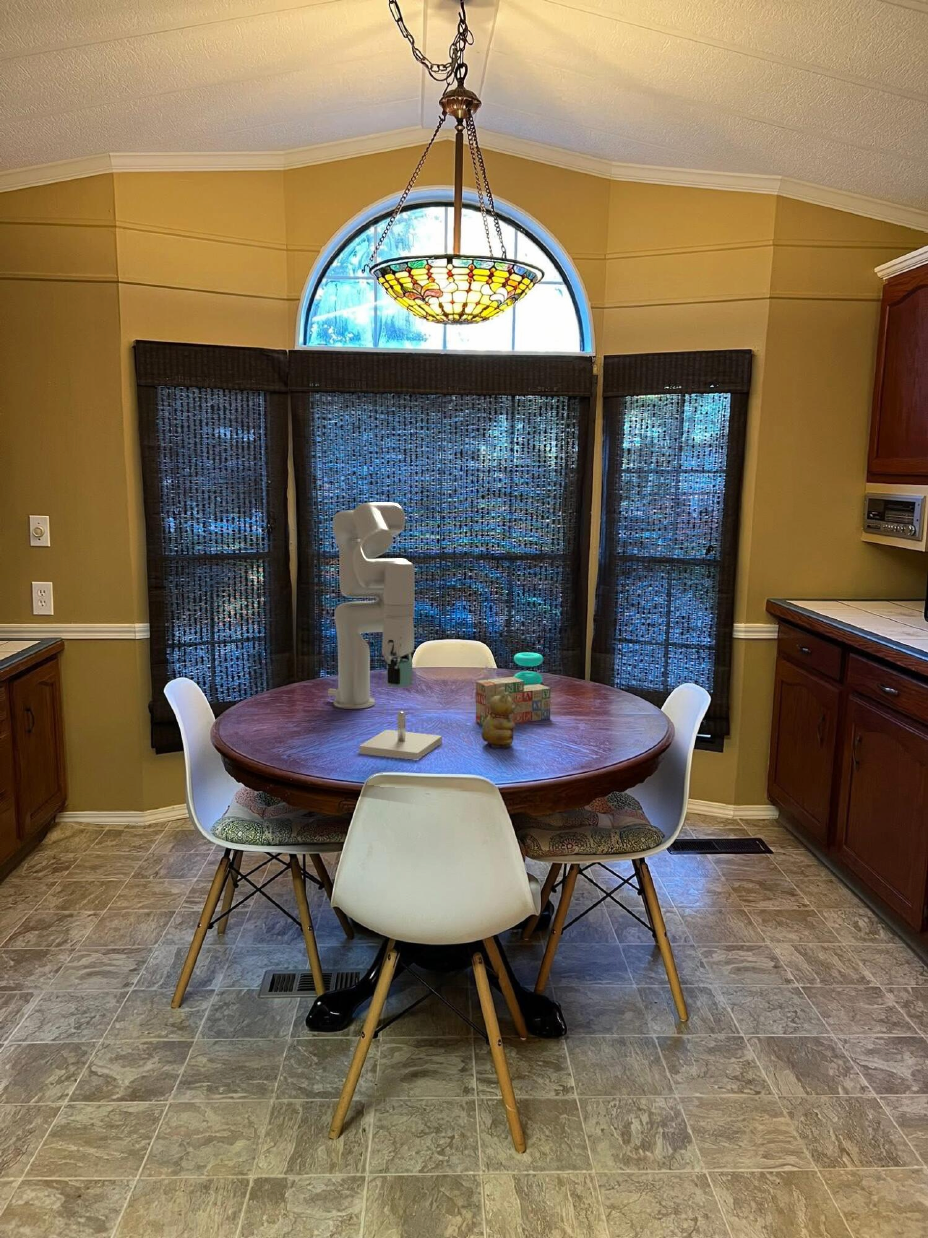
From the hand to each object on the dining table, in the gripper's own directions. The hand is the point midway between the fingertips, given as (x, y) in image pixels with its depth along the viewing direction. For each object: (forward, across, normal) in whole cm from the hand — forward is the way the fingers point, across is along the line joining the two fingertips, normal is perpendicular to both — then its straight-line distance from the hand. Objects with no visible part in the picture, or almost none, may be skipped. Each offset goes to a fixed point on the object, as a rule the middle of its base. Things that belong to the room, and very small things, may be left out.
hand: (399, 680), depth 227 cm
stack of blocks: (+18, -37, +19) cm, 46 cm away
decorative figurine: (+18, -12, +22) cm, 31 cm away
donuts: (+18, -85, +9) cm, 87 cm away
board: (+18, 0, 0) cm, 18 cm away
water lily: (+18, -61, +7) cm, 64 cm away
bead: (+1, 0, 0) cm, 1 cm away
